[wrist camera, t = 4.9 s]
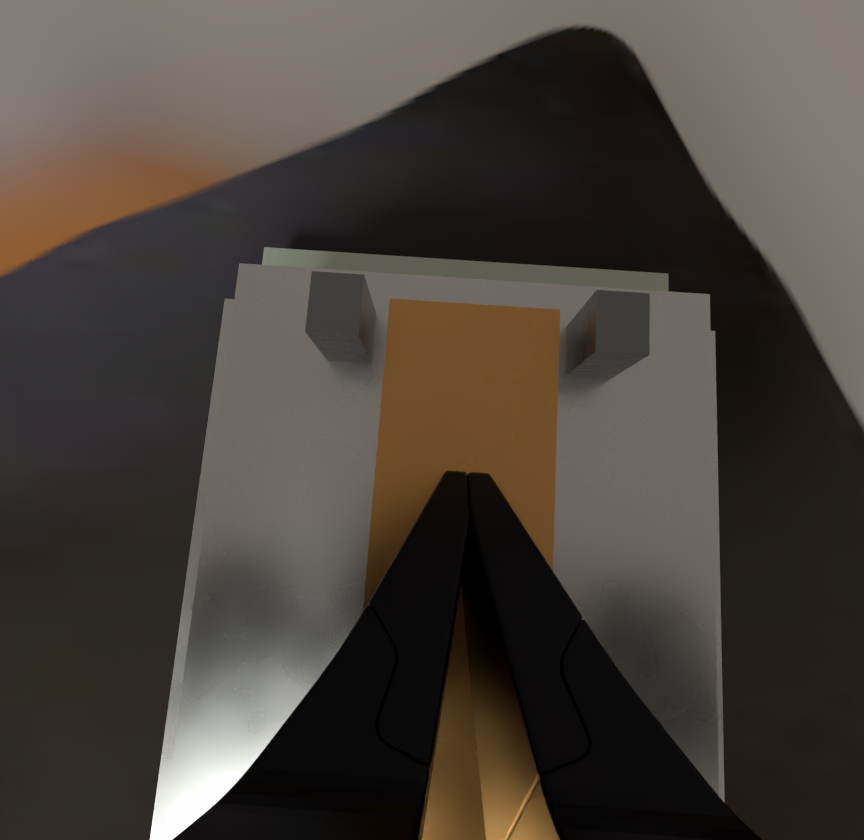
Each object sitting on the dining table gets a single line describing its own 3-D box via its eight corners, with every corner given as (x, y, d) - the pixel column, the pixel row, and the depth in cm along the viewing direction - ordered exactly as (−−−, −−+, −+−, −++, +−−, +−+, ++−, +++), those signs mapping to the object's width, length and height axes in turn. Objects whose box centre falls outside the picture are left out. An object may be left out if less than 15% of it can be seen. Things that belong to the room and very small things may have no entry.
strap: (524, 1086, 9) (539, 1178, 8) (328, 1072, 9) (313, 1161, 8) (549, 325, 11) (563, 305, 10) (393, 315, 11) (388, 293, 10)
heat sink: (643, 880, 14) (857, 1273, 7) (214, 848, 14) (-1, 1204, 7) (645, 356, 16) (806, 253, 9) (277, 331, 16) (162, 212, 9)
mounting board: (648, 894, 15) (671, 938, 14) (204, 861, 15) (180, 901, 14) (648, 291, 18) (668, 273, 17) (277, 267, 18) (264, 247, 17)
